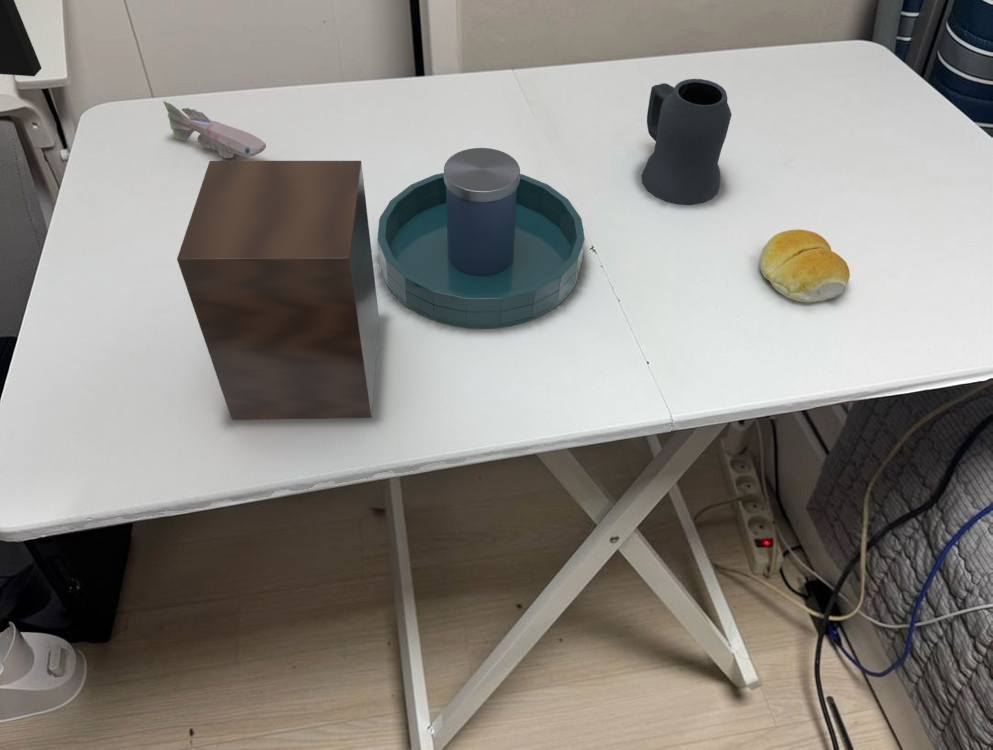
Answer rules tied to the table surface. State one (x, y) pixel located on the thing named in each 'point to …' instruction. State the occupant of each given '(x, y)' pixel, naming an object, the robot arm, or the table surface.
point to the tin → (481, 210)
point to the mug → (686, 140)
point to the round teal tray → (480, 299)
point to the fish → (213, 133)
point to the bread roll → (803, 266)
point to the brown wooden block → (285, 287)
